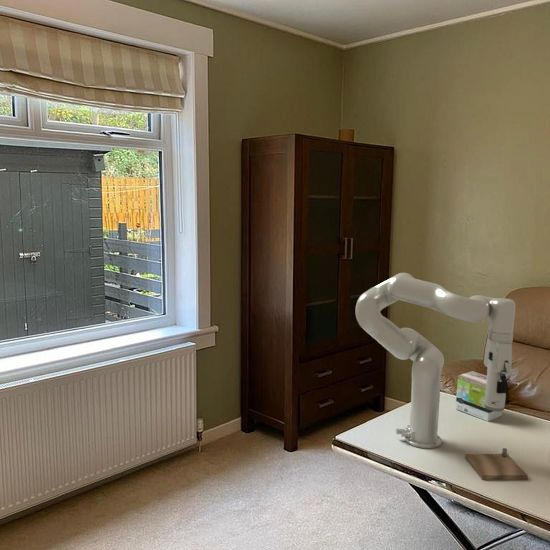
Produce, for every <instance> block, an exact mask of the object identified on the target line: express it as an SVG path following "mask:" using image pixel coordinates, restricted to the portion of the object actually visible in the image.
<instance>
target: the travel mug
mask: <svg viewBox="0 0 550 550" xmlns="http://www.w3.org/2000/svg"><path fill="white" fill-rule="evenodd" d="M492 355H493V353H492V352H489V356H490V357H489V359H488V360H489V361H488V370H487V369H486V376H487V381H486V392H485V403H484V407H485V408H486V409H488V410H491V411H497V412H499V411H502V412H503V411H504V410H505V408H506V407H505V405H506V397H507V395H506V394H507V393H497V392H496V391H497V381H499V379H498V373H495V372H493V371H492V358H493V356H492ZM501 372H505V370H502V371H501ZM503 375H505V374H501V377H502V376H503Z"/></svg>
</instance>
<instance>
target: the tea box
mask: <svg viewBox="0 0 550 550" xmlns="http://www.w3.org/2000/svg"><path fill="white" fill-rule="evenodd" d="M486 381H487V374H482V373H479V372H476V371H473V370H471V371H468V372H466V373H465V372H464V373H462V374H459V375H457V384H456V395H455V397H456V399H455V401H456V402H455V410H457V411H460V412H463V413H466V414H468V415H471V416H473V417H475V418H478V419H481V420H483V421H485V422H486V423H487V422H491V421H492V420H496V419H498V418H500V417H502V416H503V411H499V412H497V411H491V410H488V409H486V408H485V407H484V403H485V392H486Z"/></svg>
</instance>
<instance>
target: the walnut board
mask: <svg viewBox="0 0 550 550" xmlns="http://www.w3.org/2000/svg"><path fill="white" fill-rule="evenodd" d="M464 459H465V460H466V461H467V462H468V464H469V466H471V468H472V469H473V471H474V472H475V473H476V474H477V475H478V476H479V478H480V479H481V480H482V481H490V480H491V481H501V480H502V481H503V480H504V481H506V480H508V481H509V480H510V481H512V480H514V481H517V480H518V481H519V480H522V481H526V480H528V477H529V476H528V474H527V472H526V471H524V469H523V468H522V467H521V466H520V465H519V464H518V463H516V461H515V460H514V459H513V458H512V457H511V456H510V455H509V454H508V448H507V447H503V448H502V451H501V453H465V455H464Z"/></svg>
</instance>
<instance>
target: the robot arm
mask: <svg viewBox="0 0 550 550" xmlns="http://www.w3.org/2000/svg"><path fill="white" fill-rule="evenodd" d="M398 301H402V302H405V303H408V304H413V305H417V306H420V307H424V308H428V309H431V310H433V311H435V312H438V313H441V314H443V315H446V316H448V317H451V318H454V319H457V320H462V321H465V322H469V323H476V324H478V323H481V322H484V321H485V320H486V319H487V318H488V332H487V340H486V342H485V343H486V344H485V350H484V355H483V365H484V366H485V367H486V371H487V370H488V361H489V360H488V359H489V357H490V356H489V352H492V353H493V355H492V356H493V358H492V371H493V372H495V373H498V379H499V381H497V391H496V392H497V393H506V394H507V391H508V382H509V381H510V378H511V377H512V376H513V375H512V362H513V346H512V344H513V340H514V326H515V316H516V315H515V314H516V302H515V301H514V300H513V299H512V298H505V297H496V298H495V297H491V296H485V295H481V294H477V295H472V296H470V297H466V296H463V295H459V294H457V293H453V292H451V291H449V290H447V289H445V287H443V286H442V285H440V284H437V283H434V282H430V281H425V280H422V279H418V278H415V277H414V276H413V275H411V274H410V273H408V272H400V273H397V274H395V275H394V276H391V277H390V278H389V279H387V280H384V281H383V282H381V283H379V284H377V285H375V286H373V287H370V288H369V289H368V290H366V291H365V292H363V293H362V294H361V295H360V296H359V297H358V299H357V301H356V305H355V318H356V321H357V323H358V325H359V326H360V328H362V329H363V330H364V332H366V333H367V334H368V335H370V336H371V337H372V339H374V340H375V341H377V342H378V344H380V345H381V346H382V347H383V348H384V349H385V350H387V351H388V352H389V353H390V354H392V356H393V357H395V358H397V359H399V360H402V361H403V360H404V361H405V360H408V359H410V360H411V361H413V362H412V366H411V392H410V393H411V395H410V396H411V399H410V413H409V414H410V416H409V424H407V426H406V427H405V428H395V434H396V435H401V436H400V437H404V440H405V442H406V443H408V444H409V445H411V446H413V447H417V448H421V449H434V448H438V447H440V446H441V445H442V443H443V441H442V438H441V436H440V435H438V434H439V433H438V431H439V429H438V428H439V415H440V401H441V400H440V399H441V398H440V397H441V379H442V378H441V377H442V371H443V367H444V364H445V358H444V355H443V353H442V352H441V351H440V349H438V347H436V346H435V345H434V343H432V342H431V341H429V340H428V339H427V338H425V336H423V335H421V334H420V333H419V332H418V331H417V330H415V329H413V328H410V327H401V328H400V327H399V326H398V325H396V324H395V323H394V322H393V321H391V320H390V319H389V318H387V317H385V316H383V314H382V313H381V311H382V310H383V309H385V308H387V307H388V306H391V305H392V304H394V303H396V302H398ZM502 370H505V372H501V371H502ZM501 374H505V375H503V376H502V377H501Z"/></svg>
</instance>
